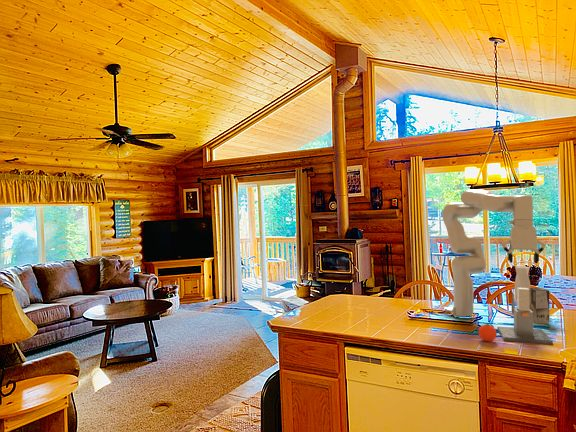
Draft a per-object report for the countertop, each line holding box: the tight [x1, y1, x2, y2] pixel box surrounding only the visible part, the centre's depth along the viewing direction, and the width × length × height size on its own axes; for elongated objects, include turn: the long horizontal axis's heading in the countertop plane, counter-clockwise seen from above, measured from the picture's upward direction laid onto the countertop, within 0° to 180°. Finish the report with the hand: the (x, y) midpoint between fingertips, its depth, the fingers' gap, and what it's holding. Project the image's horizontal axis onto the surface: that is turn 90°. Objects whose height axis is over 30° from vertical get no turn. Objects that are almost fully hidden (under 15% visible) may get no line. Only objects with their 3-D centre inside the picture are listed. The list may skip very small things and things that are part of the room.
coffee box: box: [529, 287, 550, 324], centre depth 212 cm, size 9×6×16 cm
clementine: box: [478, 323, 498, 343], centre depth 181 cm, size 8×7×7 cm
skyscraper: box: [510, 261, 532, 315], centre depth 227 cm, size 8×8×28 cm
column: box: [516, 288, 530, 312], centre depth 186 cm, size 4×4×19 cm
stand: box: [497, 307, 554, 345], centre depth 186 cm, size 18×18×12 cm
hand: (523, 262), depth 186 cm, fingers open, 9 cm apart
